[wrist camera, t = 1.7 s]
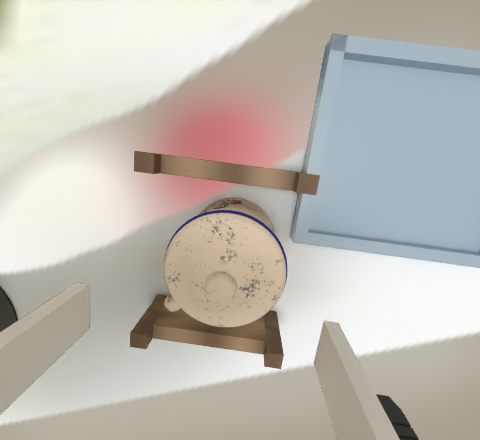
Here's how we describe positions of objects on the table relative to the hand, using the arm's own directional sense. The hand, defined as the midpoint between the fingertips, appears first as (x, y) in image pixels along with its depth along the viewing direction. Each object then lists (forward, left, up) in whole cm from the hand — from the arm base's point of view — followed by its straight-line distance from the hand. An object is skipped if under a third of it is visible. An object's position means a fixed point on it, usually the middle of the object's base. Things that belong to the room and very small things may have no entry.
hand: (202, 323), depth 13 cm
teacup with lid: (0, 0, -13) cm, 13 cm away
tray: (+17, +11, -13) cm, 24 cm away
